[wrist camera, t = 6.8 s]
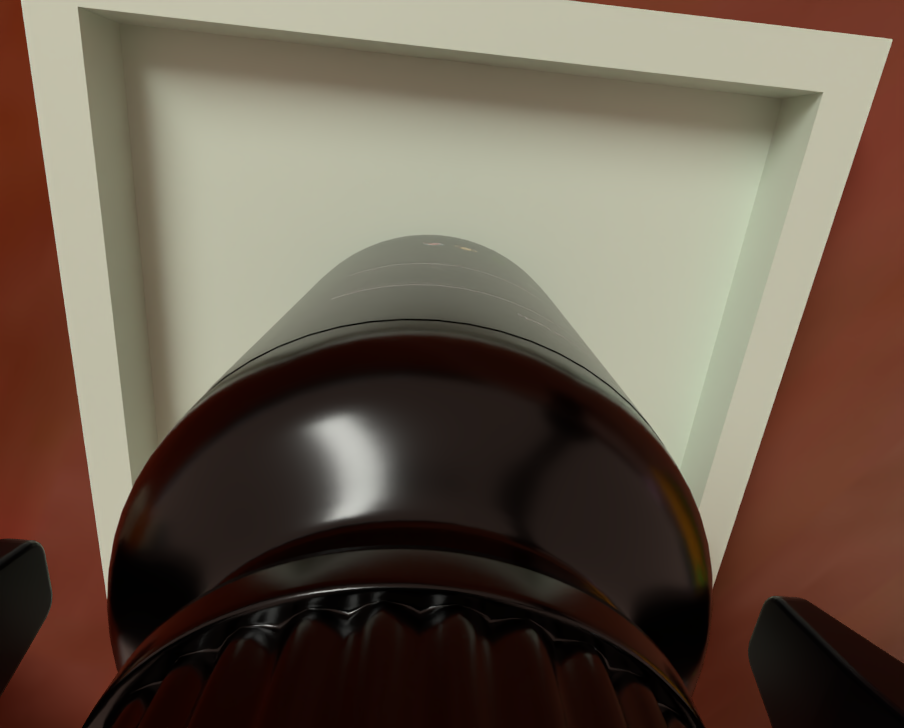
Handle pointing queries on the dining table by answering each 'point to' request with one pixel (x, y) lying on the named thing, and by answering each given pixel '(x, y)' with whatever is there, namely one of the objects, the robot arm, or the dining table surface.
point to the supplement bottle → (410, 524)
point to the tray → (442, 191)
